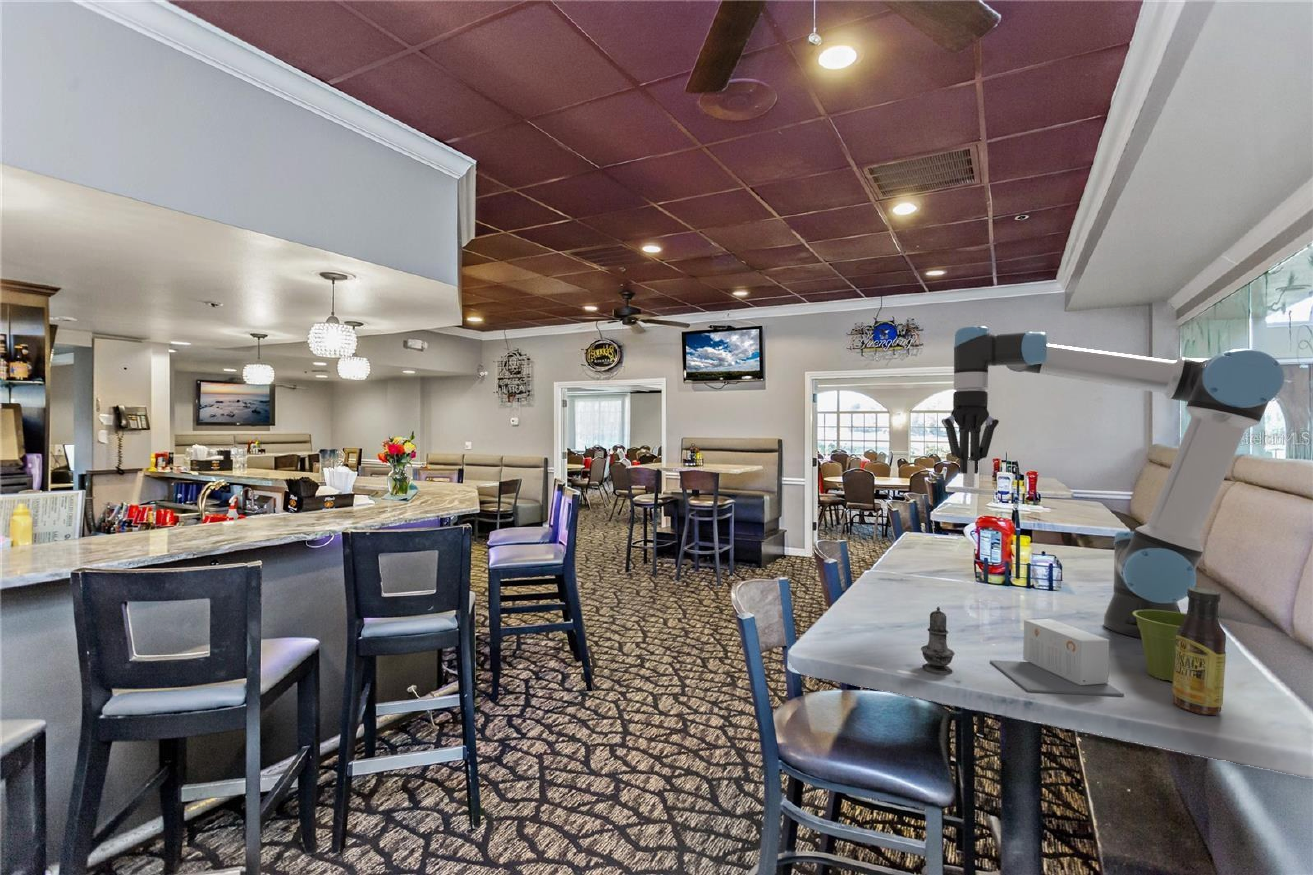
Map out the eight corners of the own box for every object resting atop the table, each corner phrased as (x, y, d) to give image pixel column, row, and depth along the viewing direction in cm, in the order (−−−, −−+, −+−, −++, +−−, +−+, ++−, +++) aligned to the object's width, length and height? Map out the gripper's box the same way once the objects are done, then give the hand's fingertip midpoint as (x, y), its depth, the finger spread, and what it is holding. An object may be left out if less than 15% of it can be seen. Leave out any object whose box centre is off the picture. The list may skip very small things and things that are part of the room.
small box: (1049, 658, 123) (1109, 684, 110) (1021, 659, 121) (1079, 686, 109) (1050, 617, 123) (1110, 639, 110) (1023, 618, 121) (1081, 641, 109)
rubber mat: (1074, 665, 120) (1074, 663, 120) (1124, 696, 106) (1124, 694, 106) (989, 662, 121) (990, 660, 121) (1027, 691, 107) (1027, 689, 107)
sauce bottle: (1162, 701, 104) (1164, 584, 104) (1196, 700, 105) (1198, 584, 104) (1199, 718, 98) (1202, 594, 97) (1235, 718, 98) (1238, 594, 98)
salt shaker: (958, 676, 113) (959, 612, 113) (924, 673, 114) (925, 609, 114) (949, 665, 119) (950, 603, 119) (917, 662, 120) (918, 601, 120)
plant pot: (1158, 663, 122) (1159, 606, 122) (1230, 686, 111) (1231, 624, 111) (1116, 669, 118) (1117, 611, 118) (1186, 694, 107) (1187, 630, 107)
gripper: (990, 392, 153) (988, 486, 153) (937, 391, 154) (935, 485, 154) (1005, 390, 146) (1003, 488, 146) (949, 389, 147) (947, 487, 147)
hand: (968, 486), depth 150 cm, fingers closed
